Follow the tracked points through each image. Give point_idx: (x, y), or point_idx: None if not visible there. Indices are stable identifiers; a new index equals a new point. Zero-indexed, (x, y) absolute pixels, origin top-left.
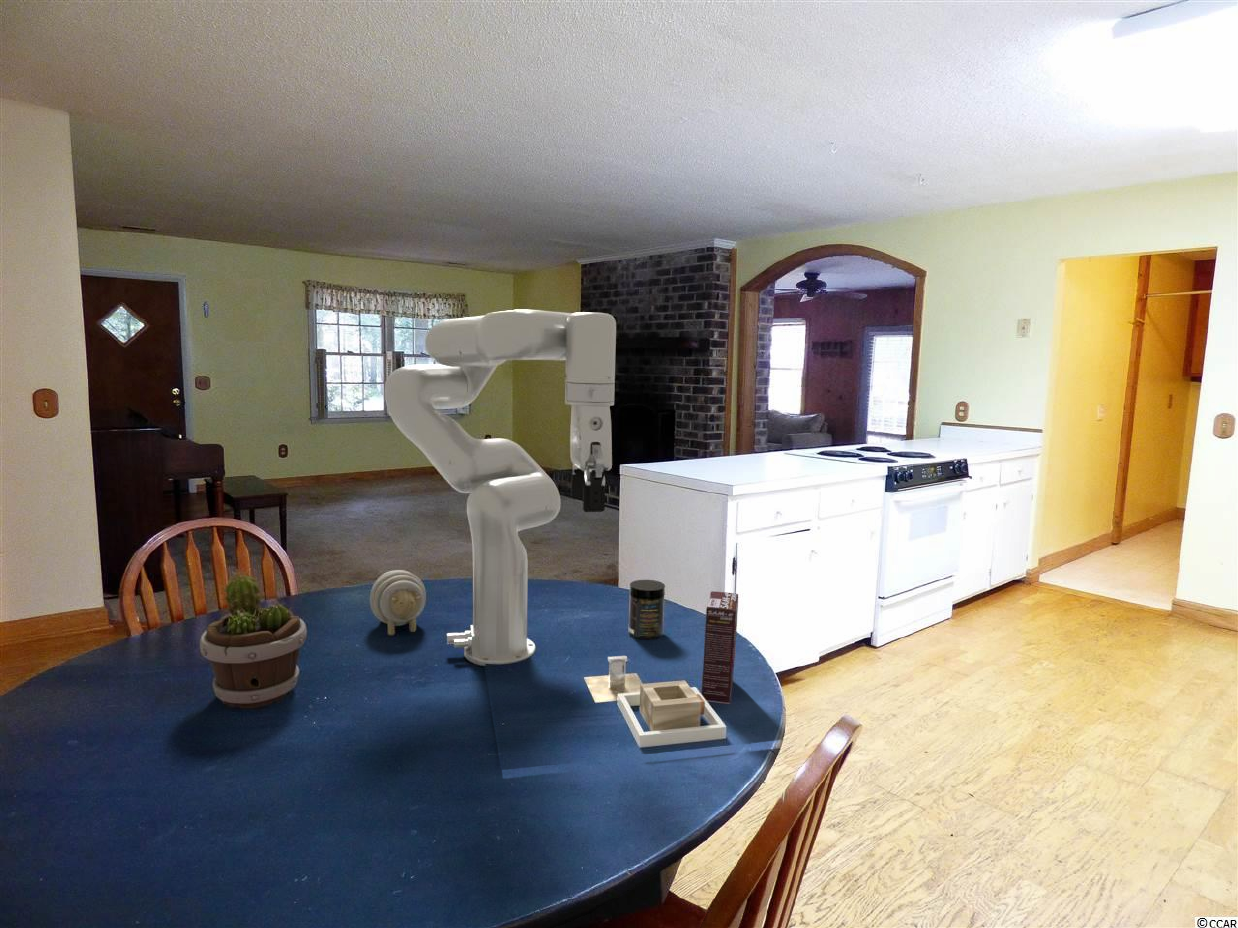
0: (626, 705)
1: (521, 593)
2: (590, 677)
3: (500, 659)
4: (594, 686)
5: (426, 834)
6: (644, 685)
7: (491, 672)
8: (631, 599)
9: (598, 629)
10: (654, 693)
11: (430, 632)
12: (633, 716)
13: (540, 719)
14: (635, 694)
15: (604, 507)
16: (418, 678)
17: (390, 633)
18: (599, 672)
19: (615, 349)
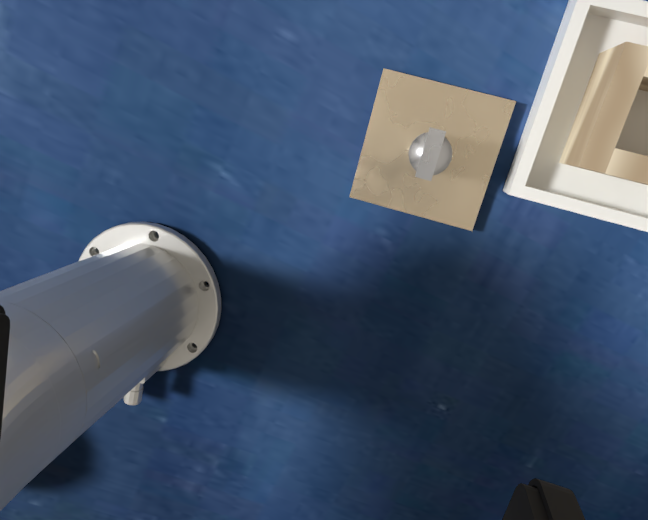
0: (570, 205)
1: (108, 322)
2: (357, 183)
3: (204, 323)
4: (402, 196)
5: None
6: (591, 161)
7: (231, 344)
8: None
9: (87, 19)
10: (645, 161)
11: None
12: (625, 217)
13: (461, 344)
14: (533, 158)
15: (575, 504)
16: (207, 463)
17: None
18: (321, 139)
19: None
